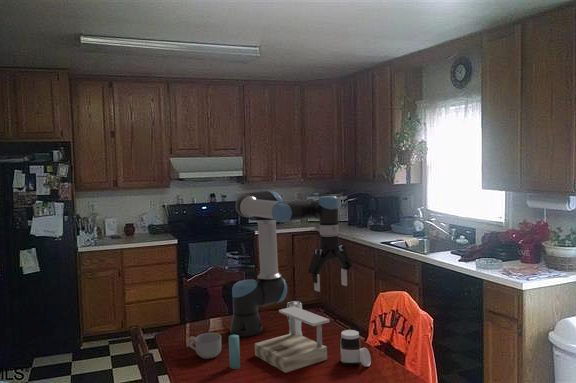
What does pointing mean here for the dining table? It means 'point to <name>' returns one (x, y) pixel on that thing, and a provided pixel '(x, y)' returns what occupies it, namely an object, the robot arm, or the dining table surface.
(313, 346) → the socket block
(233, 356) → the peg
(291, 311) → the grey piece
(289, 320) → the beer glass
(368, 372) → the dining table surface
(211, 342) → the teacup
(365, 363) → the spread jar
